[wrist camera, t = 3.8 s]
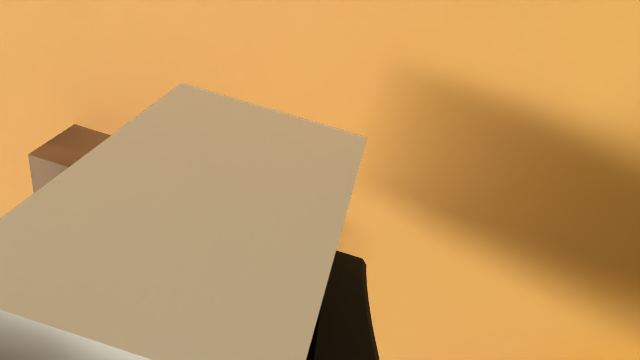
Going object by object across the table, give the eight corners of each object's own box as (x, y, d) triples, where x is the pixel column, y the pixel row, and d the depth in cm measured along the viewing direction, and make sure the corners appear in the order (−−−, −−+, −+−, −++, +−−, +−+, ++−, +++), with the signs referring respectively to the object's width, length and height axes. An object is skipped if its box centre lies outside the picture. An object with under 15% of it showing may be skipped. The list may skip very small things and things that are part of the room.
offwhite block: (366, 137, 10) (292, 405, 5) (316, 303, 12) (234, 586, 7) (182, 82, 10) (-84, 281, 5) (171, 257, 13) (-5, 501, 8)
